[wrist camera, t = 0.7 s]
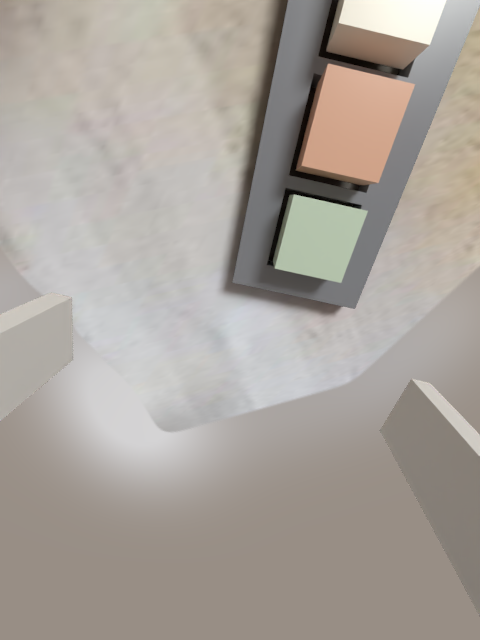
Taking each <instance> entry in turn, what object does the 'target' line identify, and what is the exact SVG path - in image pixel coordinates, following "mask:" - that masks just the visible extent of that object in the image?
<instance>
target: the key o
mask: <svg viewBox="0 0 480 640" xmlns="http://www.w3.org/2000/svg"><path fill="white" fill-rule="evenodd" d="M367 212H368V211H366V210H362V209H357V208H353V207H348V206H344V205H339V204H335V203H330V202H326V201H321V200H317V199H313V198H308V197H304V196H299V195H295V194H293V195H289V198H288V202H287V206H286V210H285V214H284V218H283V222H282V226H281V230H280V234H279V238H278V242H277V246H276V250H275V254H274V258H273V263H274V267H275V269H279V270H284V271H288V272H293V273H297V274H302V275H307V276H311V277H316V278H321V279H325V280H330V281H334V282H339V283H341V282H342V279H343V277H344V274H345V271H346V269H347V266H348V263H349V261H350V258H351V255H352V253H353V250H354V247H355V245H356V242H357V239H358V236H359V234H360V231H361V228H362V226H363V223H364V220H365V218H366V215H367Z"/></svg>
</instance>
